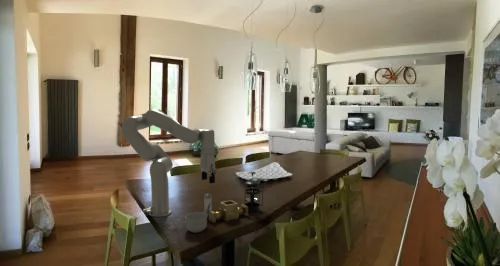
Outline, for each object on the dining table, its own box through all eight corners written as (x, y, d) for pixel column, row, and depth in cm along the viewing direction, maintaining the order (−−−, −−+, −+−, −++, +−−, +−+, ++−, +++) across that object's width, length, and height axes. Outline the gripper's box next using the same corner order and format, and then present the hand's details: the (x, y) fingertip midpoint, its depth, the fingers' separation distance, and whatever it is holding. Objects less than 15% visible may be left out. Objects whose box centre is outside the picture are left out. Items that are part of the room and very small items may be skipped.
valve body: (214, 223, 177) (214, 208, 176) (207, 219, 184) (207, 204, 183) (249, 216, 189) (249, 201, 189) (241, 212, 196) (241, 198, 195)
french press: (242, 212, 196) (242, 173, 194) (244, 207, 206) (244, 170, 203) (262, 212, 195) (262, 174, 193) (263, 207, 205) (263, 170, 202)
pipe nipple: (206, 216, 188) (206, 195, 187) (203, 214, 191) (203, 194, 190) (212, 215, 190) (212, 194, 189) (209, 213, 193) (209, 193, 192)
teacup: (194, 236, 160) (194, 220, 160) (180, 230, 168) (180, 215, 167) (215, 228, 171) (215, 213, 170) (202, 223, 178) (202, 208, 177)
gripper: (195, 150, 192) (195, 179, 194) (208, 153, 178) (209, 185, 180) (207, 149, 196) (207, 177, 198) (221, 152, 182) (221, 183, 184)
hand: (208, 181), depth 189 cm, fingers open, 9 cm apart
